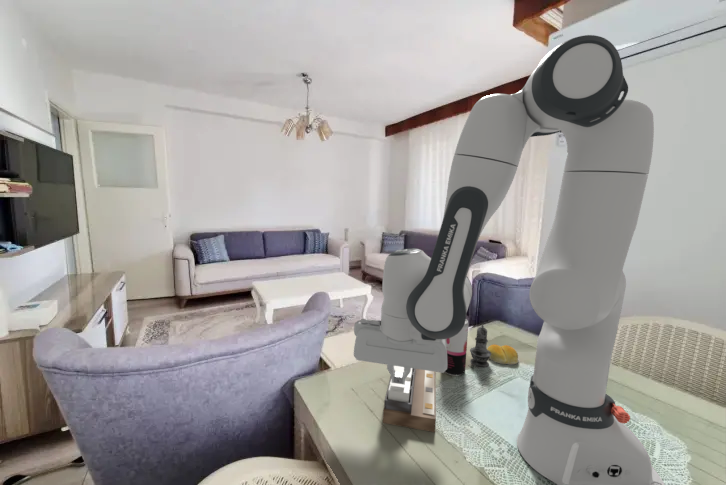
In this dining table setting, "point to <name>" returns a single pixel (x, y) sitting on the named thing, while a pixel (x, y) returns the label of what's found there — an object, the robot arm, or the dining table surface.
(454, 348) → the beverage can
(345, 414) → the dining table surface
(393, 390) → the button near
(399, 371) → the button middle
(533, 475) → the dining table surface
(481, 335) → the grey tiered upright piece
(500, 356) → the bread roll
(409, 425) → the button board
